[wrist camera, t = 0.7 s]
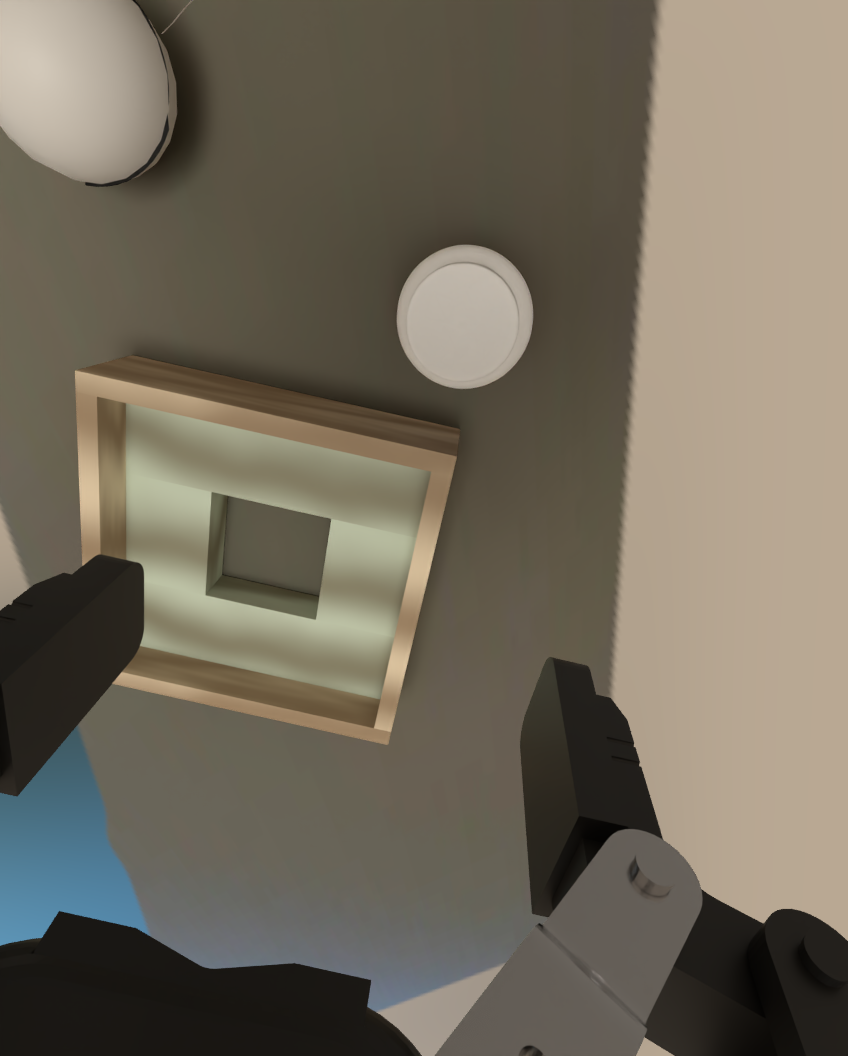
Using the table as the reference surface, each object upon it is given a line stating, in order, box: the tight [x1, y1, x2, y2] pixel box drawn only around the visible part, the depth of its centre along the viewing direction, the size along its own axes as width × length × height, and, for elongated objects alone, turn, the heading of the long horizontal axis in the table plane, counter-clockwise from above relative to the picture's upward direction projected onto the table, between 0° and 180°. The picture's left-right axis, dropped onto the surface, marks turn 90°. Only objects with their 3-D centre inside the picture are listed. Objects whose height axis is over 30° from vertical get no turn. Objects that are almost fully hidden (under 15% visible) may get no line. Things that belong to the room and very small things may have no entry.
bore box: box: [75, 355, 460, 745], centre depth 34 cm, size 18×18×5 cm
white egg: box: [0, 0, 193, 187], centre depth 24 cm, size 10×7×7 cm
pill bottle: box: [397, 245, 533, 389], centre depth 25 cm, size 6×5×10 cm
